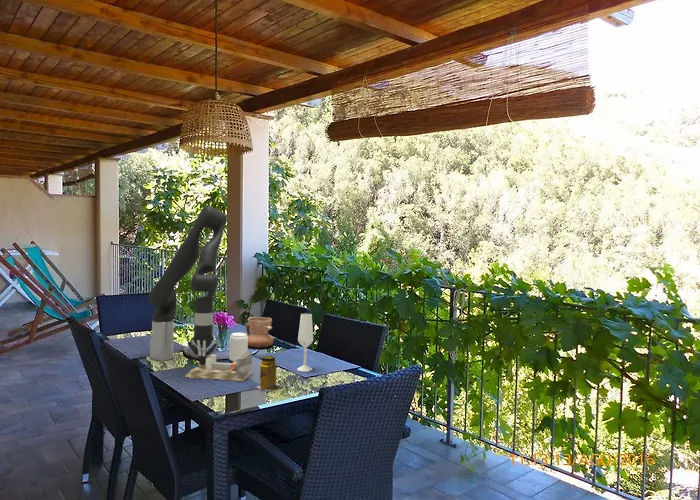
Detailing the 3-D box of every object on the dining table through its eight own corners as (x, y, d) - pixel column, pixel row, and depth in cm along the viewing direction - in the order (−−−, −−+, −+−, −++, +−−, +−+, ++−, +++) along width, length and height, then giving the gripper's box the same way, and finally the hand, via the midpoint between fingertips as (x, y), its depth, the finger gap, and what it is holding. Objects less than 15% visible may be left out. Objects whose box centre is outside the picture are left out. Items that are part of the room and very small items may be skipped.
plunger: (205, 373, 222) (205, 358, 222) (211, 368, 229) (211, 354, 229) (229, 374, 221) (229, 360, 221) (234, 370, 228) (235, 355, 228)
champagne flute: (305, 366, 243) (307, 312, 241) (315, 369, 238) (317, 315, 237) (293, 368, 238) (295, 314, 237) (303, 372, 233) (305, 316, 232)
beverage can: (243, 363, 244) (243, 336, 243) (226, 361, 246) (226, 335, 245) (250, 358, 252) (250, 333, 251) (233, 357, 254) (234, 331, 253)
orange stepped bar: (228, 373, 219) (228, 366, 219) (233, 368, 227) (233, 361, 226) (232, 374, 219) (233, 366, 219) (238, 368, 226) (238, 361, 226)
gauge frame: (184, 377, 220) (185, 355, 220) (195, 369, 232) (196, 348, 232) (243, 381, 218) (243, 359, 218) (251, 372, 230) (251, 351, 230)
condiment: (255, 387, 211) (255, 356, 211) (271, 382, 218) (272, 353, 217) (267, 391, 207) (268, 360, 206) (284, 387, 213) (285, 356, 212)
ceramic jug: (281, 347, 276) (282, 319, 276) (259, 351, 265) (260, 322, 265) (257, 341, 288) (258, 314, 287) (235, 345, 277) (236, 317, 276)
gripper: (184, 323, 221) (183, 366, 222) (216, 325, 220) (215, 368, 221) (191, 320, 229) (190, 361, 230) (222, 322, 227) (221, 363, 228)
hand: (202, 364), depth 225 cm, fingers closed
